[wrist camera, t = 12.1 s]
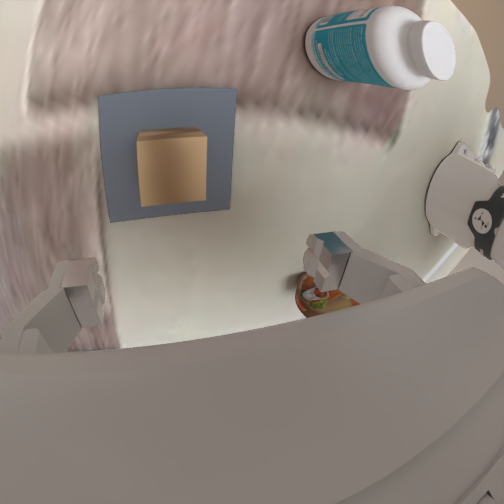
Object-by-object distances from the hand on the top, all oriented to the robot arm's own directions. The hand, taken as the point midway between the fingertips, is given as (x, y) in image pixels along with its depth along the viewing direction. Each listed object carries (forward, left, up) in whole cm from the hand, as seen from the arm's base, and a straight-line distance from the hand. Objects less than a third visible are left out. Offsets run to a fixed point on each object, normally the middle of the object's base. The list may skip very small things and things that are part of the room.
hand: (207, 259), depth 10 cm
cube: (0, 0, -16) cm, 16 cm away
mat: (0, 0, -17) cm, 17 cm away
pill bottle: (-16, -12, -17) cm, 26 cm away
